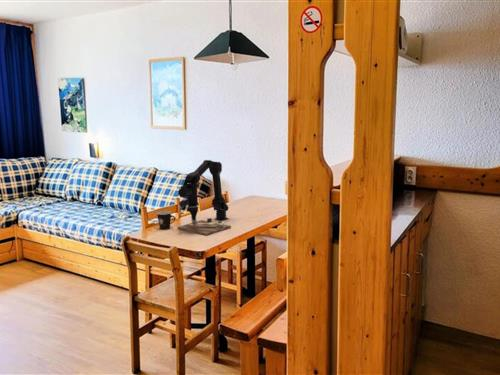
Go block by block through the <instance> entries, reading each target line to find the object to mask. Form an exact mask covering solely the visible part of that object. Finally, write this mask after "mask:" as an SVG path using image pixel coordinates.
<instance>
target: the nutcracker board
mask: <svg viewBox="0 0 500 375" xmlns="http://www.w3.org/2000/svg"><path fill="white" fill-rule="evenodd" d="M206 219H207V220H204V219H203V220H202V219H201V220H196V221H197V223H215V222H214V221H213V219H212V218H210V217H209V218H206ZM231 228H232V226H231V225H229V224H225V223H224V226H222V227H218V226H194V224H192V222H191V223H186V224H183V225H180V226H177V230H180V231H184V232H189V233H193V234H197V235H200V236H201V235H202V236H206V237H207V236H212V235H214V234H216V233H220V232H223V231H227V230H229V229H231Z"/></svg>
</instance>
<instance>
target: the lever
mask: <svg viewBox="0 0 500 375" xmlns="http://www.w3.org/2000/svg"><path fill="white" fill-rule="evenodd" d="M190 217H191V223H192V224H194V226H218V227H222V226H224V224H225V222H224V221H223V220H217V222H214V223H197V221H198V220H197V217H196V218H195V220H194V221H193V220H192V216H191V215H190Z"/></svg>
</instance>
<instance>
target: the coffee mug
mask: <svg viewBox="0 0 500 375" xmlns="http://www.w3.org/2000/svg"><path fill="white" fill-rule="evenodd" d="M156 216H157V219H158V220H157V221H158V225H159V230H163V231H165V230H169V229H171V225H172V224H173V223H174V222H175V220H176V217H175V216H174V215H172V212H171V211H169V210H168V211H166V210H165V211H159V212H157V213H156ZM172 217H173V220H172V219H171V218H172ZM171 220H172V221H171Z"/></svg>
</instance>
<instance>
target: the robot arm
mask: <svg viewBox="0 0 500 375" xmlns="http://www.w3.org/2000/svg"><path fill="white" fill-rule="evenodd" d="M222 168H223V165H222V162H220V161H213V160H212V159H205V160H203V162H202V163H201V164H200V165H199V166H198V167H197V168H196V169H195V170H194V171H192V172H189V173H188V174H187V175H186V176H185V179H184V181H183V184H182V185H180V188H179V189H178V191H177V195H179V197H180V198H186V199H182V200H180V201H179V202H178V204H179V206H180V208H184V207H185V206H187V212H188V213H190V217H191V216H192V219H191V221H192V220H193V221H194V220H195V218H196V219H197V216H198V215H197V214H198V211H199V206H200V204H199V202H198V201H199V200H198V198H199V197H198V196H199V195H198V188H199V187H200V185H199V181H201V177H202V176H203V174H204V173H205V172H206V171H208V170H209V173H210V174H211V176H212V183H213V192H214V193H213V195H214V197H213V198H212V199H211V203H212V204H211V205H212V208H213V210H214V211H215V212H216V213H215V215H216V216H215V217H214V219H215V220H217V219H218V220H217V221H224V220H228V219H229V217H227V211H229V206H228V204H227V203H226V199H225V197H224V196H223V193H222V183H221V173H222V171H223V169H222Z"/></svg>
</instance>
